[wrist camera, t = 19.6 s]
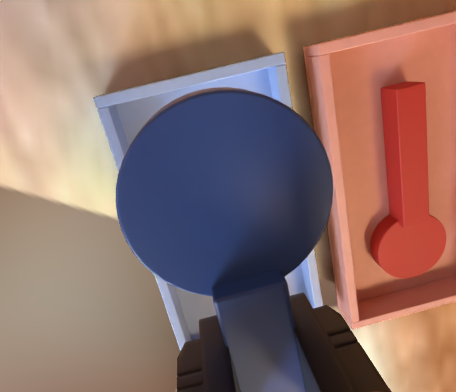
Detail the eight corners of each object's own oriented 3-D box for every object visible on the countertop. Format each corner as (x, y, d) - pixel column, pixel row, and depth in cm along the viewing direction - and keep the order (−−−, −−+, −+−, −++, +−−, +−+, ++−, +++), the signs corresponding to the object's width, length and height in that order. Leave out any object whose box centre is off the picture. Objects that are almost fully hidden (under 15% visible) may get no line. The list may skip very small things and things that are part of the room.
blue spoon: (354, 447, 13) (380, 502, 11) (222, 485, 13) (228, 547, 11) (302, 65, 9) (331, 63, 7) (94, 114, 8) (72, 125, 7)
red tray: (302, 46, 21) (317, 43, 19) (465, 8, 22) (499, 0, 19) (338, 308, 28) (352, 329, 26) (462, 274, 28) (487, 293, 26)
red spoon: (354, 94, 22) (369, 96, 20) (432, 74, 22) (452, 75, 20) (372, 277, 27) (385, 291, 25) (436, 260, 27) (453, 272, 25)
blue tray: (102, 94, 21) (92, 97, 18) (273, 53, 21) (284, 51, 19) (187, 348, 27) (188, 374, 25) (315, 313, 28) (328, 336, 25)
